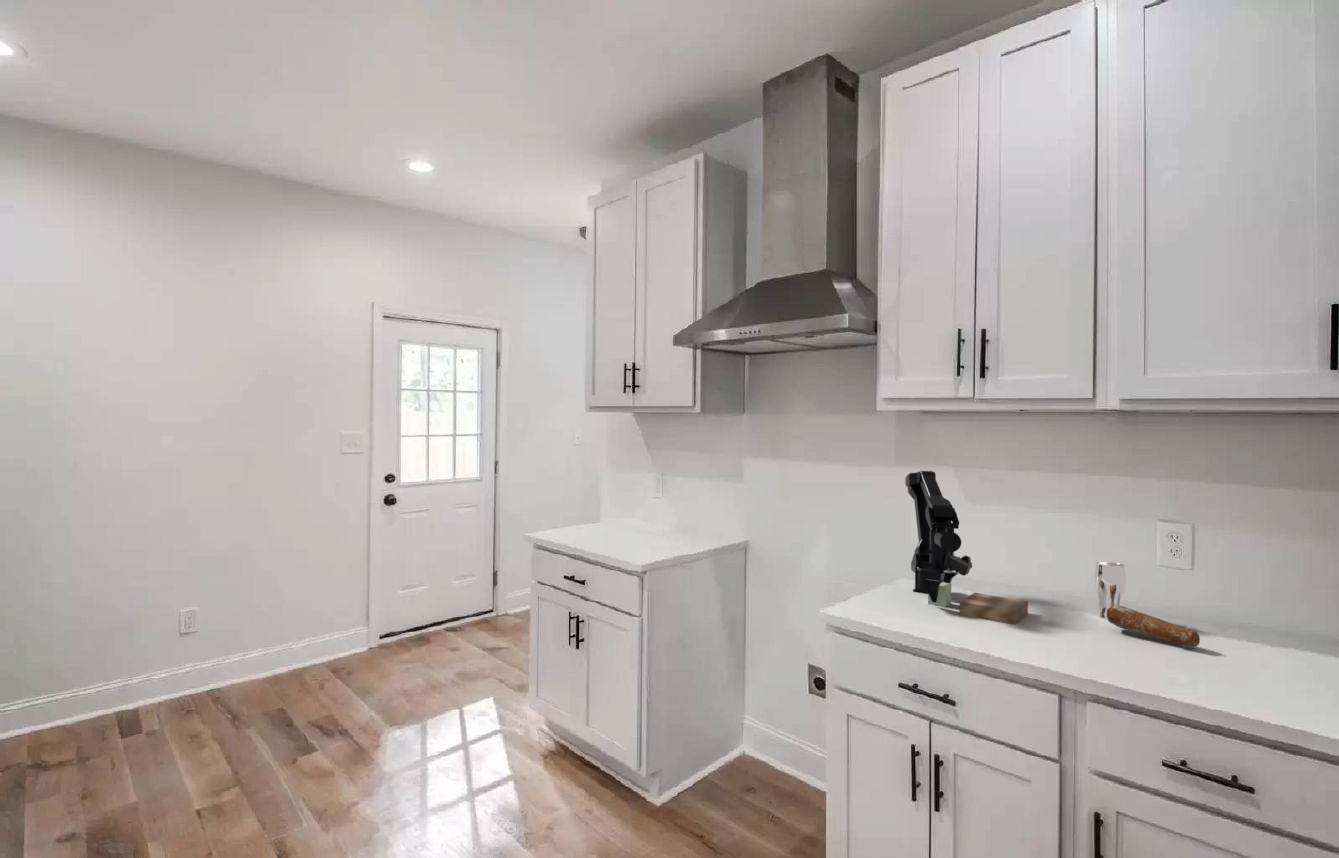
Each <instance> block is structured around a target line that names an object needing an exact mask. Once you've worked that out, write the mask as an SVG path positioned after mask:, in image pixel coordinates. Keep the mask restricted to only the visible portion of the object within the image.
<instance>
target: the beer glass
mask: <svg viewBox="0 0 1339 858" xmlns="http://www.w3.org/2000/svg"><path fill="white" fill-rule="evenodd" d="M1125 566H1126V565H1125V564H1123V563H1119V562H1114V561H1113V562H1112V561H1096V562H1095V570H1094V572H1095V573H1094V583H1095V591H1096V594H1097V600H1098V603H1097V604H1098V608H1097V612H1096V616H1097V617H1098V618H1099V619H1104V620H1108V619H1107V609H1108V608H1109V607H1110V606H1111V605H1112V604H1116V605H1119V606H1123V602H1124V601H1123V600H1124V596H1125V591H1126V585H1127V582H1126V581H1127V579H1126V578H1127V577H1126V575H1127V574H1126V569H1125Z"/></svg>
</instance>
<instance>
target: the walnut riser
mask: <svg viewBox="0 0 1339 858" xmlns="http://www.w3.org/2000/svg"><path fill="white" fill-rule="evenodd" d="M1028 614H1029V601H1028V600H1025V599H1018V598H1017V599H1016V598H1011V597H1003V596H999V595H992V594H986V593H980V592H979V593H978V592H974V593H972V594H970V595H968V596H966V597H965V598H963V599H962V600H960V601H959V616H966V617H971V618H972V617H973V618H977V619H982V620H988V621H993V622H999V623H1005V624H1009V625H1017V624H1018V623H1019V622H1020V621H1021V620H1023V619H1024V618H1025V617H1026V616H1027V615H1028Z"/></svg>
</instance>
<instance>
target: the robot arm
mask: <svg viewBox="0 0 1339 858" xmlns="http://www.w3.org/2000/svg"><path fill="white" fill-rule="evenodd" d="M936 476H937V475H936V472H935V471H933V470H920V471H917V472H909V474H907V475H905V479H904V482H905V487H907V493H908V494H909V496H910V497H911V498H912V499H913V501H914V511H915V518H916V519H915V520H916V526H917V529H916V530H917V539H918V544H917V546H916V547H915V550H914V553H913V556H912V560H911V562H910V567H911V568H910V570H911V571H912V572H913V573H914V575H915V576H914V588H913V589H912V592H915V593H921V594H927V595H928V593H929V596H930V598H931V600H932V602H937V597H938V591H939V585H940V584H941V583H942V582H944V583H951V584H952V581H953V579H954V578H955V577H956V576H957V575H961V576H967V575H968V574H969V573H970V570H971V569H972V568H973V562H972V560H971V557H970V556H968V555H963V556H962V557H960V556H956V555H955V553H954V552H956V551H958V550H959V549H960V548H961V546H962V540H961V537H960V535H959V534H958V533H956V532H955V530H956V529H957V530H959V527H960V526H959V525H960V521H959V517H958V513H957V511H956V509H955V508H954V506H953V504H952V503H951V501H950V500H948V499H947V498H945V497H944V496H943V493H942V491H941V489H940V486H939V483H938V482H937V479H936Z"/></svg>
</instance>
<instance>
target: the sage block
mask: <svg viewBox="0 0 1339 858" xmlns="http://www.w3.org/2000/svg"><path fill="white" fill-rule="evenodd" d="M927 604H928V605H930V606H931V605H933V606H938V607H943V608H947V607H948V606H950V605H951V604H952V582H951V583H944V582H942V583H941V584H940V585H939V591H938V597H937V602H932V600H931V598H930V596H929V593H928V594H927Z"/></svg>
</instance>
